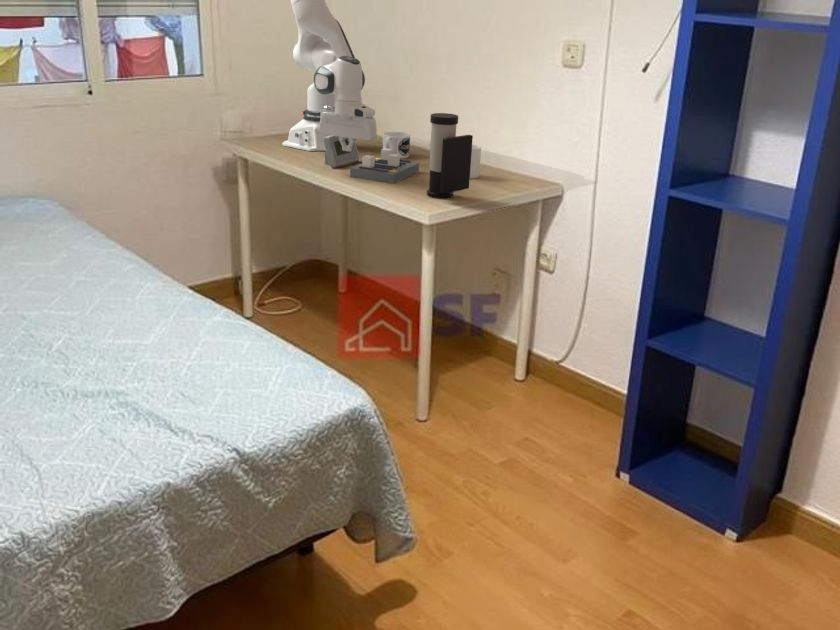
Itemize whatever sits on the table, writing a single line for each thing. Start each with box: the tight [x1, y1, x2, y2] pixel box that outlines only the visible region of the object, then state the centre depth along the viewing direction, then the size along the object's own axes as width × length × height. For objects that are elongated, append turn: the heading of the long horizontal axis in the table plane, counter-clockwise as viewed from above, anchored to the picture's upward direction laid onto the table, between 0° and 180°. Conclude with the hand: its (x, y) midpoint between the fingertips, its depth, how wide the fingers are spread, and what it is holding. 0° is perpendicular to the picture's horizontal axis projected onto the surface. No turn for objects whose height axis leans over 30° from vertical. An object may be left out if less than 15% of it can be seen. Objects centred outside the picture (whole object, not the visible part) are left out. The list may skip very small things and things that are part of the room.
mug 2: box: [470, 144, 482, 180], centre depth 281 cm, size 12×8×10 cm
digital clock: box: [323, 135, 360, 169], centre depth 288 cm, size 16×9×11 cm, turn 138°
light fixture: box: [426, 112, 474, 199], centre depth 250 cm, size 12×11×25 cm
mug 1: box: [382, 131, 411, 159], centre depth 305 cm, size 13×10×8 cm
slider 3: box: [388, 154, 401, 166], centre depth 276 cm, size 3×3×4 cm
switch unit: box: [349, 156, 420, 184], centre depth 278 cm, size 16×21×4 cm
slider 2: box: [380, 148, 393, 160], centre depth 284 cm, size 3×3×4 cm
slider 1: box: [361, 154, 376, 168], centre depth 272 cm, size 3×3×4 cm
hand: (346, 150), depth 272 cm, fingers closed
